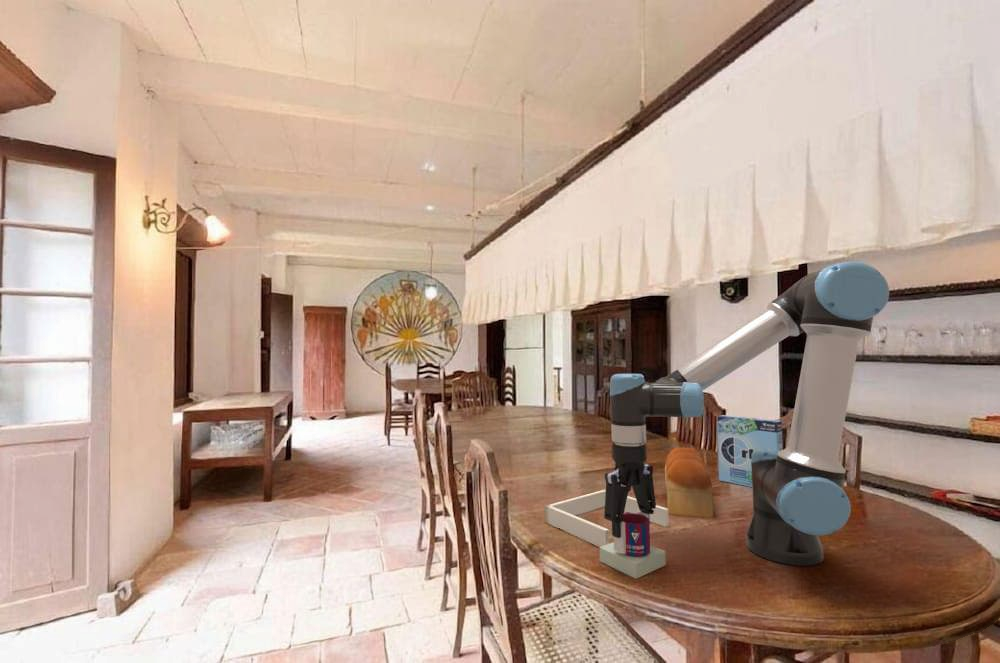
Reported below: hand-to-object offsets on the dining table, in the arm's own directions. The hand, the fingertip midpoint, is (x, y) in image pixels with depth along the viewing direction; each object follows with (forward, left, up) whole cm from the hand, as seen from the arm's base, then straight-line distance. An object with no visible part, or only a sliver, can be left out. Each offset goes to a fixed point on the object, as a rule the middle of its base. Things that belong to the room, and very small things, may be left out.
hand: (632, 546), depth 101 cm
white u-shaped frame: (+19, -12, -4) cm, 23 cm away
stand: (0, 0, -4) cm, 4 cm away
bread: (+16, -45, -4) cm, 48 cm away
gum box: (+13, -77, -4) cm, 79 cm away
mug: (0, -1, 0) cm, 1 cm away
